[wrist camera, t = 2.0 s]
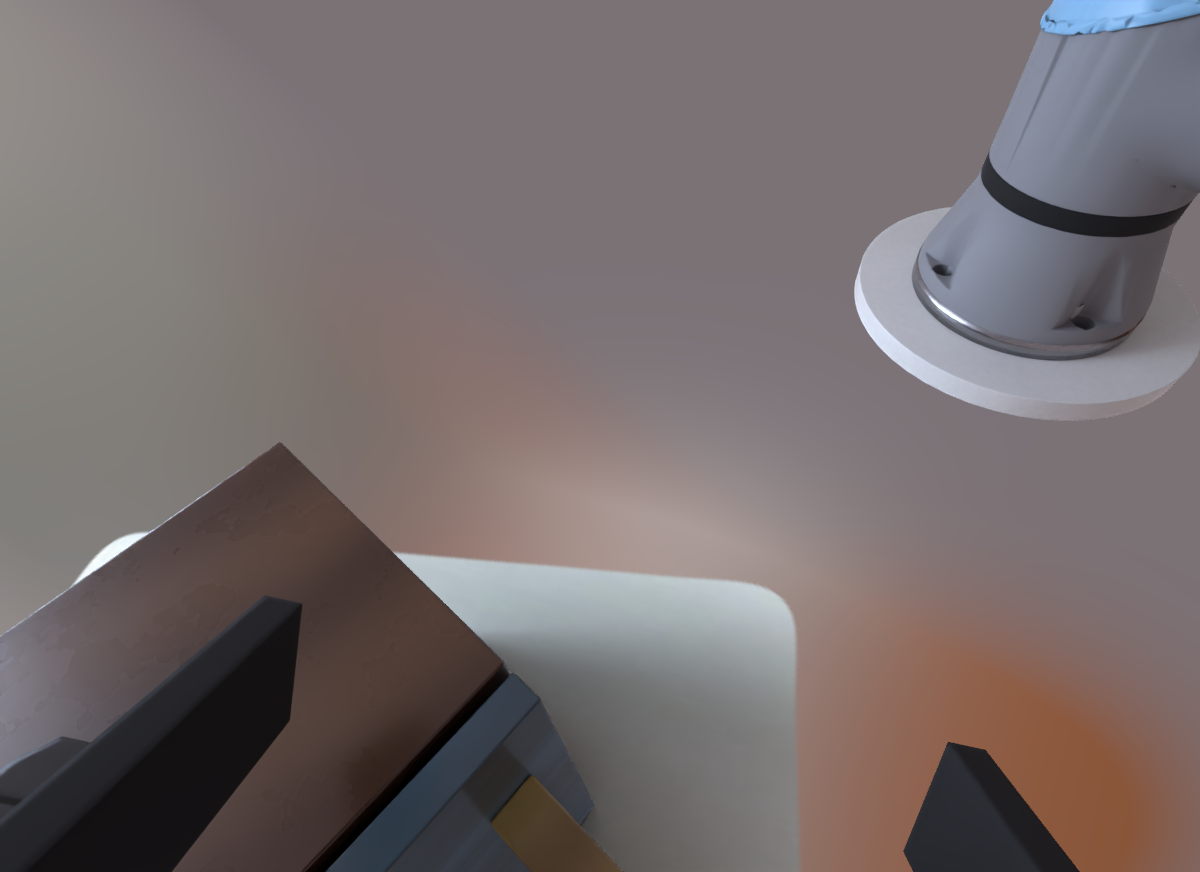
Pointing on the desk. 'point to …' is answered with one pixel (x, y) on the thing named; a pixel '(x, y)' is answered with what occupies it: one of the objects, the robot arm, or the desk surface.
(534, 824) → the door
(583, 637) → the desk surface
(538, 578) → the desk surface
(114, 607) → the cupboard
